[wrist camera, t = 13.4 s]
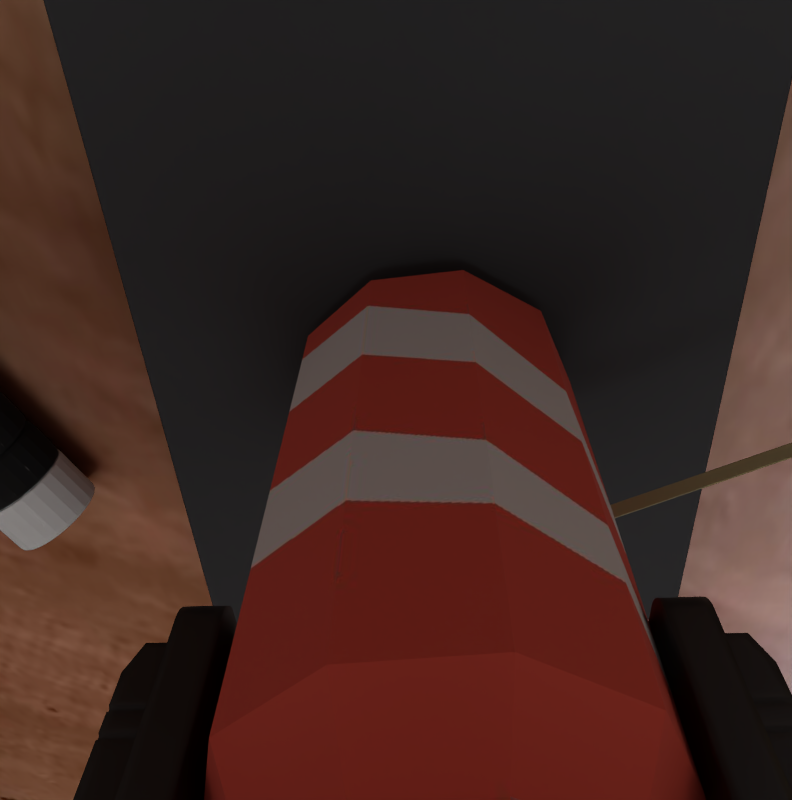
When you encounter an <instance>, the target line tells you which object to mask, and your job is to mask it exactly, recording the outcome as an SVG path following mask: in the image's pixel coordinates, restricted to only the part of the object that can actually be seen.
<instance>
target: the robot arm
mask: <svg viewBox="0 0 792 800" xmlns="http://www.w3.org/2000/svg"><path fill="white" fill-rule="evenodd" d="M648 622H649V625H650V628H651V631H652V635H653V638H654V641H655V644H656V647H657V650H658V653H659V656H660V659H661V662H662V665H663V668H664V671H665V674H666V677H667V680H668V683H669V687H670V690H671V693H672V696H673V699H674V702H675V705H676V708H677V711H678V714H679V717H680V720H681V723H682V726H683V729H684V732H685V735H686V739H687V742H688V745H689V748H690V751H691V754H692V757H693V760H694V763H695V766H696V769H697V772H698V775H699V778H700V781H701V784H702V787H703V791H704V794H705V797H706V800H792V694H791V692H790V690H789V688H788V686H787V684H786V682H785V680H784V677H783V675H782V673H781V671H780V669H779V667H778V665H777V663H776V662H775V661H774V660H773V659H772V657H771V656H770V655H769V654H768V653H767V652H766V651H765V650H764V649H763V648H762V647H761V646H760V645H759V644H758V643H757V642H756V641H755V640H754V639H753V638H752V637H751V636H750V635H749V634H748V633H724V630H723V628H722V625H721V623H720V621H719V618H718V616H717V614H716V611H715V609H714V607H713V605H712V603H711V602H710V600H709V599H708V598H706V597H668V598H655V599H654V600H653V602H652V606H651V611H650V616H649V621H648ZM236 626H237V623H236V619H235V615H234V612H233V609H232V607H231V606H190V607H182V608H181V609H180V610H179V612H178V613H177V616H176V618H175V621H174V624H173V627H172V630H171V633H170V636H169V639H168V642H167V643H146V644H145V645H144V646H143V647H142V649H141V650H140V651H139V652H138V653H137V655H136V656H135V657H134V658H133V659H132V661H131V662H130V663H129V664H128V665H127V667H126V668H125V669H124V670H123V671H122V673H121V676H120V678H119V681H118V683H117V686H116V689H115V691H114V694H113V697H112V699H111V702H110V704H109V712H106V715H105V718H104V720H103V723H102V725H101V728H100V731H99V738H98V740H96V741H95V744H94V746H93V749H92V752H91V754H90V757H89V759H88V762H87V765H86V767H85V770H84V773H83V775H82V778H81V780H80V783H79V786H78V788H77V791H76V794H75V796H74V799H73V800H204V793H205V781H206V769H207V757H208V744H209V736H210V732H211V728H212V724H213V720H214V716H215V712H216V707H217V703H218V699H219V695H220V691H221V687H222V683H223V679H224V675H225V671H226V667H227V663H228V659H229V655H230V651H231V647H232V643H233V638H234V634H235V630H236Z"/></svg>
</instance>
